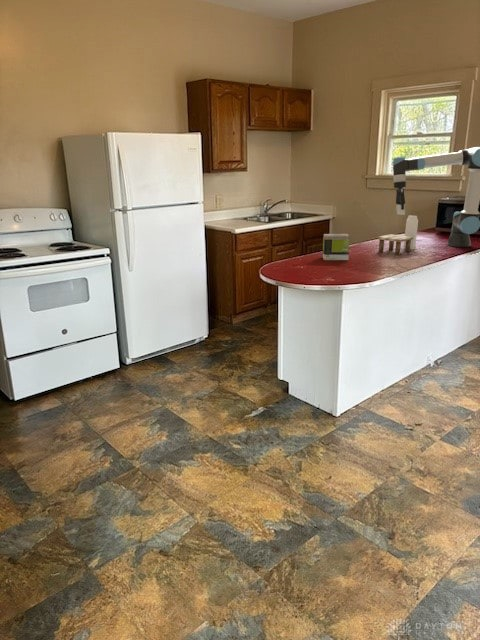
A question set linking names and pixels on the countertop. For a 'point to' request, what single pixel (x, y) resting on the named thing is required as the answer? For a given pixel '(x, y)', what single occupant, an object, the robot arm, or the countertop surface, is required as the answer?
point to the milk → (411, 230)
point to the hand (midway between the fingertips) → (400, 214)
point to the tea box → (336, 246)
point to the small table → (398, 240)
